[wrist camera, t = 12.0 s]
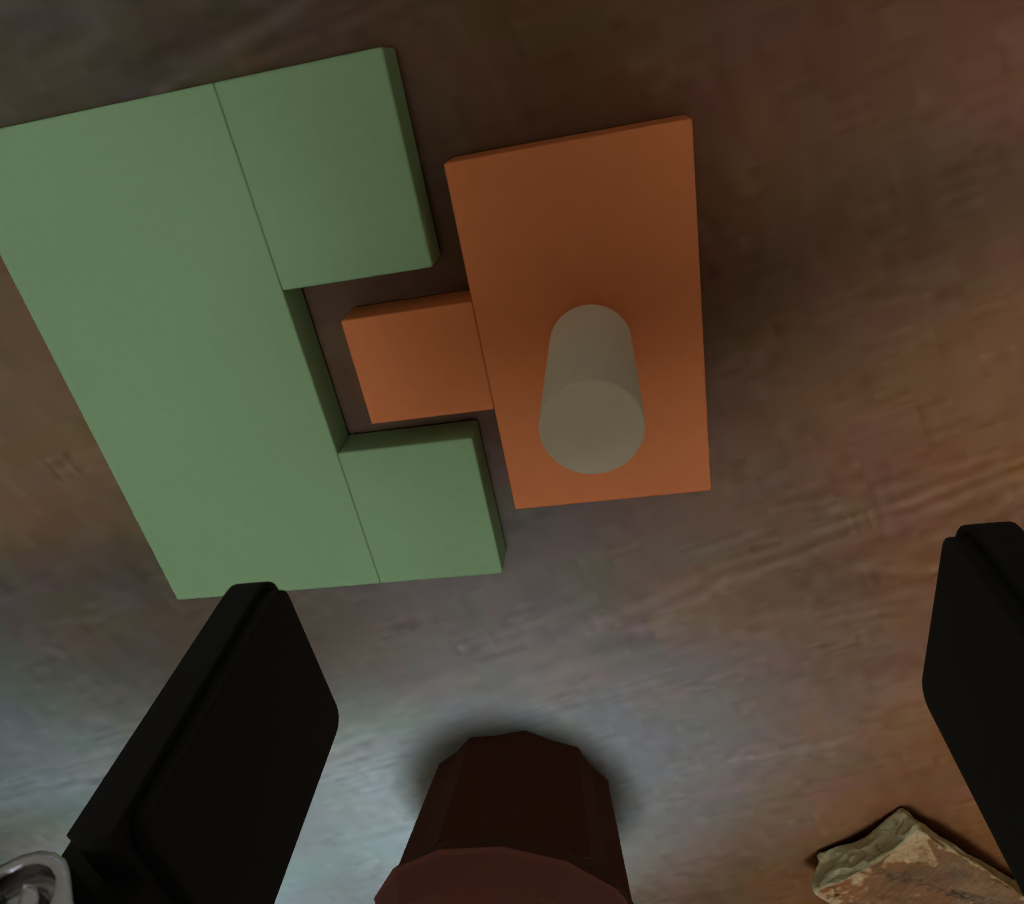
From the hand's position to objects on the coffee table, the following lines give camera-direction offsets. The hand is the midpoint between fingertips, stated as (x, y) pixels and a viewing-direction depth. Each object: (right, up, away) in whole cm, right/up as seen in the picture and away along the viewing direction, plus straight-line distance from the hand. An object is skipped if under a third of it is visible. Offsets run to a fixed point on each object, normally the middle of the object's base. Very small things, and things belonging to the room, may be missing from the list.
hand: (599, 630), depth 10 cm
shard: (+20, -18, +25) cm, 37 cm away
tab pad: (-1, +7, +14) cm, 15 cm away
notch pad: (-10, +6, +15) cm, 19 cm away
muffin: (-1, -15, +26) cm, 30 cm away
